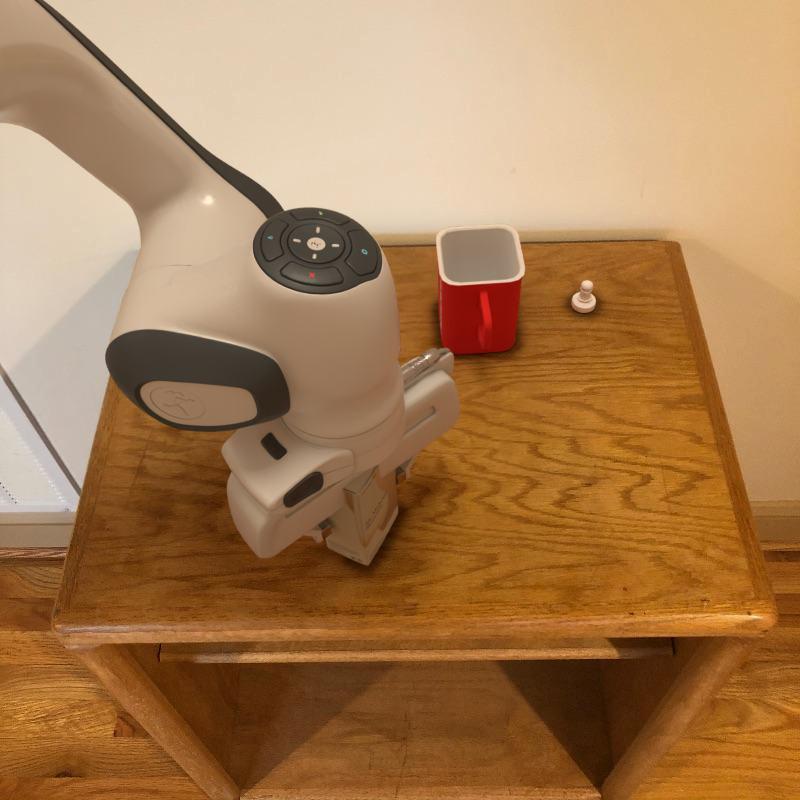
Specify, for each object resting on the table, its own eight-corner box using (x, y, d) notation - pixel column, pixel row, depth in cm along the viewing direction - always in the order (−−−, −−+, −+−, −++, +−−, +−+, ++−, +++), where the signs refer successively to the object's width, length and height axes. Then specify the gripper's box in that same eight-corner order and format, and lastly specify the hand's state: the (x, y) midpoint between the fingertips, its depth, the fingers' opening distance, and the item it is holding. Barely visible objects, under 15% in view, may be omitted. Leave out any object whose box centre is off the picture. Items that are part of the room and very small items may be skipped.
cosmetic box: (368, 568, 69) (357, 499, 59) (325, 548, 70) (307, 478, 60) (401, 509, 72) (395, 435, 62) (360, 492, 73) (347, 416, 63)
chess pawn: (566, 301, 86) (570, 278, 84) (586, 293, 87) (590, 270, 84) (579, 316, 85) (584, 294, 82) (599, 308, 86) (604, 285, 83)
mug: (435, 301, 87) (434, 228, 79) (509, 296, 87) (516, 222, 79) (444, 386, 80) (443, 315, 72) (524, 380, 80) (533, 309, 72)
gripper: (425, 314, 61) (427, 416, 72) (199, 459, 54) (240, 548, 65) (480, 361, 58) (473, 460, 69) (249, 522, 51) (283, 603, 62)
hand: (359, 504), depth 67 cm, fingers closed on cosmetic box, 7 cm apart
